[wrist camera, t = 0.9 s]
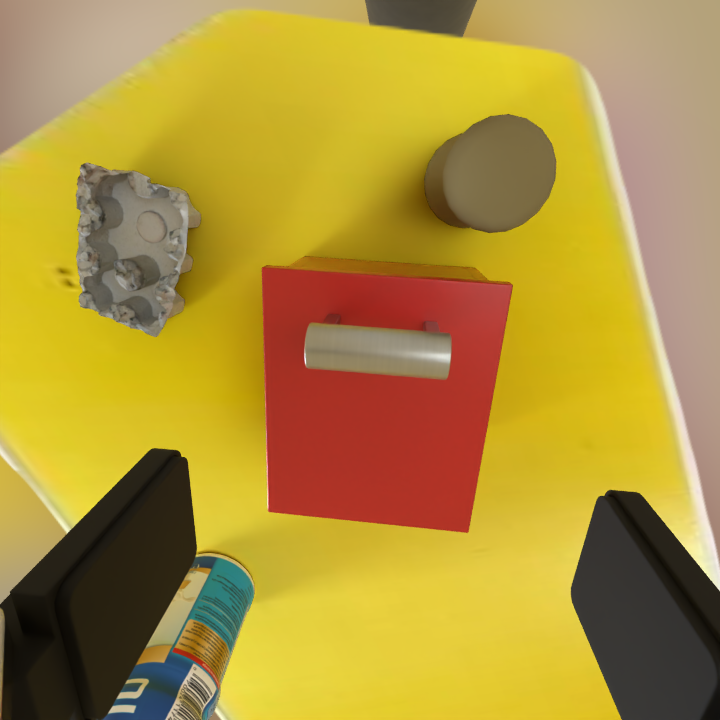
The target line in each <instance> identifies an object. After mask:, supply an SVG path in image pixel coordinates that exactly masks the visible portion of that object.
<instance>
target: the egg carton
mask: <svg viewBox="0 0 720 720" xmlns="http://www.w3.org/2000/svg"><path fill="white" fill-rule="evenodd" d="M80 172H81V173H80V176H79V177H78V182H77V185H78V190H77V194H76V197H77V209H79V210H80V211H81V216H80V220H79V224H78V229H77V230H78V232H79V247H78V251H77V256H76V258H77V266H78V273H79V276H80V285H81V287H82V289H83V293H81V294H80V296H79V303H80V307H83V308H89V309H93V310H95V311H97V312H99V315H100V316H104V317H109V318H112V319H114V320H115V321H116V322H119V323H122V324H124V325H126V326H128V327H130V328H134V329H140V330H143V331H144V332H145V333H147V334H149V335H151V336H154V337H157V336H158V335H159V333H160V331H161V330H162V328H163V327H164V325H165V323H166V321H167V318H170V317H172V316H174V315H176V314H178V313H180V312H181V311H183V309H184V303H185V300H184V299H183V298H182V297H180V296H179V294H178V293H177V291H176V290H175V289H174V288H175V286H176V284H177V282H178V279H179V275H180V274H182V273H185V272H188V271H190V270H191V268H192V263H193V258H192V257H191V256H189V255H188V254H187V253H186V248H187V232H188V228H194V227H198V226H199V225H200V221H201V214H200V213H199V212H198V211H197V210H195V208H194V207H193V206H192V205H191V202H190V200H189V196H188V194H187V192H186V191H184V190H182V189H180V188H178V187H165V186H162V185H159V184H151V183H150V178H149V177H147V176H145V175H143V174H140V173H138V172H136V171H123V170H112V171H111V170H108V169H105V168H103V167H101V166H97V165H94V164H90V163H85V164H83V165H81V167H80Z"/></svg>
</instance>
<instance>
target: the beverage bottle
mask: <svg viewBox="0 0 720 720" xmlns="http://www.w3.org/2000/svg"><path fill="white" fill-rule="evenodd" d="M254 591H255V589H254V583H253V580H252V578H251V576H250V574H249V573H248V571H247V570H246V569H245V568H244V567H243V566H242V565H241V564H240V563H238V562H237V561H235V560H233V559H231V558H229V557H227V556H224V555H220V554H215V553H203V554H198V555H196V556H195V560H194V562H193V564H192V566H191V568H190V570H189V572H188V573H187V575H186V577H185V579H184V580H183V582H182V584H181V586H180V587H179V589H178V591H177V593H176V595H175V596H174V598H173V600H172V602H171V603H170V605H169V607H168V609H167V611H166V612H165V614H164V616H163V618H162V619H161V621H160V623H159V625H158V626H157V628H156V630H155V632H154V634H153V635H152V637H151V639H150V641H149V642H148V644H147V646H146V648H145V650H144V651H143V653H142V655H141V657H140V658H139V660H138V662H137V664H136V665H135V667H134V669H133V671H132V673H131V674H130V676H129V678H128V680H127V681H126V683H125V685H124V687H123V689H122V690H121V692H120V694H119V696H118V697H117V699H116V701H115V703H114V704H113V706H112V708H111V710H110V711H109V713H108V714H107V715H106V717H105V718H104V719H102V720H209V719H210V717H211V715H212V714H213V712H214V710H215V708H216V706H217V703H218V700H219V697H220V691H221V683H222V680H223V677H224V675H225V672H226V669H227V666H228V663H229V661H230V658H231V655H232V652H233V649H234V647H235V644H236V641H237V638H238V636H239V633H240V630H241V627H242V625H243V622H244V619H245V617H246V615H247V612H248V611H249V609H250V606H251V604H252V601H253V598H254Z"/></svg>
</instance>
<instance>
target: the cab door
mask: <svg viewBox="0 0 720 720" xmlns="http://www.w3.org/2000/svg"><path fill="white" fill-rule="evenodd" d="M512 288H513V285H512V284H511V283H509V282H502V281H487V280H473V279H458V278H444V277H430V276H415V275H401V274H386V273H372V272H357V271H343V270H328V269H314V268H300V267H285V266H271V265H266V266H264V267H262V296H263V335H264V374H265V413H266V452H267V491H268V512H274V513H283V514H293V515H303V516H312V517H322V518H332V519H341V520H351V521H360V522H370V523H380V524H389V525H399V526H408V527H418V528H428V529H437V530H447V531H456V532H466V533H468V531H469V526H470V521H471V515H472V509H473V504H474V498H475V493H476V487H477V482H478V476H479V471H480V465H481V460H482V454H483V448H484V443H485V437H486V432H487V426H488V421H489V415H490V410H491V404H492V399H493V393H494V387H495V382H496V376H497V371H498V365H499V360H500V354H501V349H502V343H503V338H504V332H505V326H506V321H507V315H508V310H509V304H510V299H511V293H512Z"/></svg>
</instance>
